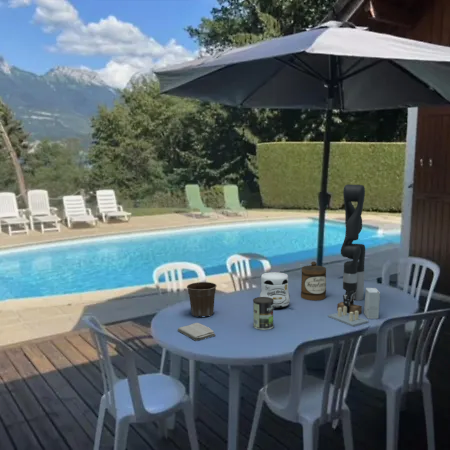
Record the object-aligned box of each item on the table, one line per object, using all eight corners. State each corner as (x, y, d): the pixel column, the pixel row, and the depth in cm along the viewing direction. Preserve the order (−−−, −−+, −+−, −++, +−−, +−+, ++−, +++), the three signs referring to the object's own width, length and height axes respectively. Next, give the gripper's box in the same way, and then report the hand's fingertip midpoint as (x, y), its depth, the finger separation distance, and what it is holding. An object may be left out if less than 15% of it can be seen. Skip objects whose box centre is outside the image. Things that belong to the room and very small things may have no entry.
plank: (337, 310, 273) (337, 303, 272) (341, 308, 277) (342, 301, 276) (357, 315, 265) (357, 308, 264) (361, 313, 268) (361, 305, 268)
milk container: (275, 312, 271) (275, 281, 268) (253, 305, 284) (253, 275, 281) (296, 306, 282) (296, 275, 280) (274, 299, 295) (274, 270, 292)
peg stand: (328, 316, 263) (328, 306, 262) (343, 313, 269) (343, 303, 268) (352, 326, 248) (353, 316, 247) (368, 322, 253) (368, 312, 252)
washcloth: (196, 342, 231) (196, 336, 231) (176, 332, 245) (176, 326, 245) (217, 336, 238) (217, 330, 238) (196, 326, 252) (196, 320, 252)
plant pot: (181, 314, 270) (180, 286, 268) (202, 307, 282) (201, 280, 279) (202, 321, 259) (201, 291, 257) (223, 313, 271) (222, 285, 268)
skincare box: (363, 314, 267) (364, 287, 265) (374, 313, 267) (375, 287, 264) (368, 319, 258) (368, 291, 256) (379, 319, 258) (380, 291, 256)
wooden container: (306, 301, 290) (307, 265, 287) (297, 294, 304) (297, 259, 301) (330, 299, 294) (330, 263, 290) (319, 292, 308) (320, 258, 305)
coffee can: (276, 325, 252) (277, 298, 250) (267, 331, 243) (267, 303, 241) (259, 321, 257) (259, 295, 255) (249, 327, 248) (249, 300, 246)
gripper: (352, 284, 260) (351, 315, 263) (361, 278, 272) (360, 308, 274) (338, 282, 264) (337, 312, 267) (348, 277, 276) (347, 306, 279)
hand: (349, 310), depth 271 cm, fingers closed on plank, 5 cm apart
